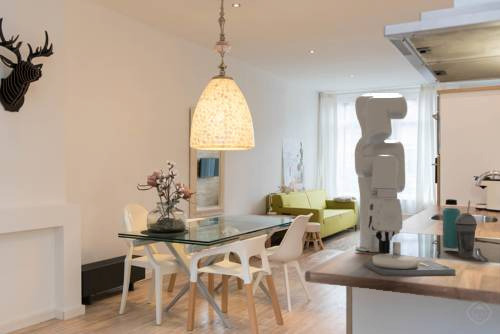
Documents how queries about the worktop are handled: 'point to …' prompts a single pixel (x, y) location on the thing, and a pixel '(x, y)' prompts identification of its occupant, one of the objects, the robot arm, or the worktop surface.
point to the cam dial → (395, 259)
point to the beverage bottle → (450, 225)
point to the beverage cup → (465, 233)
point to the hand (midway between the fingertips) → (384, 253)
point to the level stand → (413, 269)
